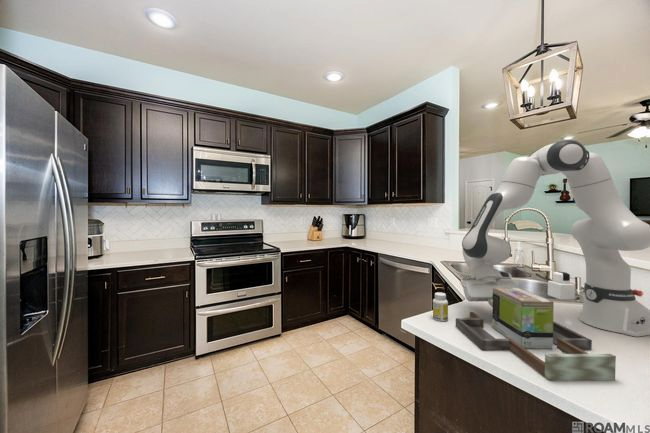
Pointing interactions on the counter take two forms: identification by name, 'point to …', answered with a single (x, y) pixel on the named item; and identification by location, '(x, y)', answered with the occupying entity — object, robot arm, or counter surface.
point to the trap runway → (555, 365)
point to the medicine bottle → (561, 286)
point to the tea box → (523, 317)
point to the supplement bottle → (440, 307)
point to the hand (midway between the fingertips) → (501, 311)
